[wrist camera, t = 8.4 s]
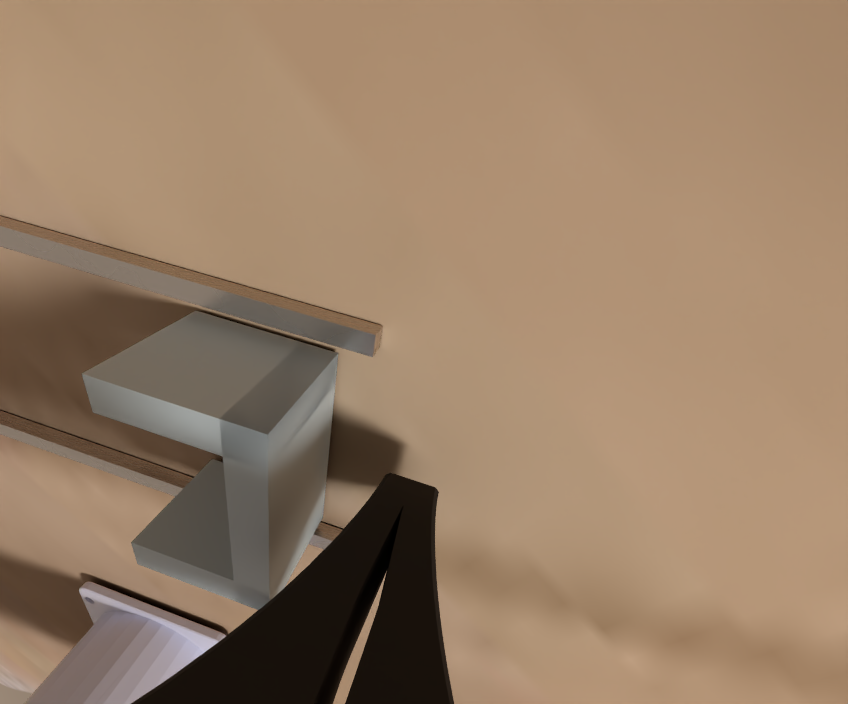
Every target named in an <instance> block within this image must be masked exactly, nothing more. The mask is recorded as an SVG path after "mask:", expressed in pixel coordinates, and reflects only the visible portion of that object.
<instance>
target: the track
mask: <svg viewBox="0 0 848 704" xmlns="http://www.w3.org/2000/svg"><path fill="white" fill-rule="evenodd" d="M0 247H4V248H7V249H10V250H14V251H17V252H21V253H24V254H27V255H31V256H34V257H37V258H41V259H44V260H47V261H51V262H54V263H58V264H61V265H64V266H68V267H71V268H74V269H78V270H81V271H84V272H88V273H91V274H95V275H98V276H101V277H105V278H108V279H111V280H115V281H118V282H122V283H125V284H128V285H132V286H135V287H138V288H142V289H145V290H148V291H152V292H155V293H159V294H162V295H165V296H169V297H172V298H175V299H179V300H182V301H186V302H189V303H192V304H196V305H199V306H202V307H206V308H209V309H212V310H216V311H219V312H223V313H226V314H229V315H233V316H236V317H239V318H243V319H246V320H250V321H253V322H256V323H260V324H263V325H266V326H270V327H273V328H276V329H280V330H283V331H287V332H290V333H293V334H297V335H300V336H303V337H307V338H310V339H314V340H317V341H320V342H324V343H327V344H330V345H334V346H337V347H340V348H344V349H347V350H351V351H354V352H357V353H361V354H364V355H367V356H371V357H373V356H374V354H375V353H376V352H377V350H378V349H379V347H380V341H381V334H382V328H383V326H381V325H378V324H374V323H371V322H367V321H364V320H361V319H357V318H354V317H350V316H347V315H343V314H340V313H336V312H333V311H329V310H326V309H322V308H319V307H315V306H312V305H308V304H305V303H301V302H298V301H294V300H291V299H287V298H284V297H280V296H277V295H274V294H270V293H267V292H263V291H260V290H256V289H253V288H249V287H246V286H242V285H239V284H235V283H232V282H228V281H225V280H221V279H218V278H214V277H211V276H207V275H204V274H200V273H197V272H194V271H190V270H187V269H183V268H180V267H176V266H173V265H169V264H166V263H162V262H159V261H155V260H152V259H148V258H145V257H141V256H138V255H134V254H131V253H127V252H124V251H120V250H117V249H113V248H110V247H107V246H103V245H100V244H96V243H93V242H89V241H86V240H82V239H79V238H75V237H72V236H68V235H65V234H61V233H58V232H54V231H51V230H47V229H44V228H40V227H37V226H33V225H30V224H27V223H23V222H20V221H16V220H13V219H9V218H6V217H2V216H0ZM0 434H1V435H4V436H7V437H9V438H12V439H15V440H18V441H21V442H23V443H26V444H29V445H32V446H35V447H38V448H40V449H43V450H46V451H49V452H52V453H54V454H57V455H60V456H63V457H66V458H69V459H71V460H74V461H77V462H80V463H83V464H85V465H88V466H91V467H94V468H97V469H99V470H102V471H105V472H108V473H111V474H114V475H116V476H119V477H122V478H125V479H128V480H130V481H133V482H136V483H139V484H142V485H144V486H147V487H150V488H153V489H156V490H159V491H161V492H164V493H167V494H170V495H173V496H175V497H176V496H177V495H178V494H179V492H180V491H181V490H182V489H183V488H184V487H185V486H186V485H187V484H188V483H189V482H190V481H191V480H192V479H193V477H190V476H187V475H184V474H181V473H178V472H175V471H172V470H170V469H167V468H164V467H161V466H158V465H155V464H152V463H149V462H147V461H144V460H141V459H138V458H135V457H132V456H129V455H126V454H124V453H121V452H118V451H115V450H112V449H109V448H106V447H104V446H101V445H98V444H95V443H92V442H89V441H86V440H83V439H81V438H78V437H75V436H72V435H69V434H66V433H63V432H60V431H58V430H55V429H52V428H49V427H46V426H43V425H40V424H37V423H35V422H32V421H29V420H26V419H23V418H20V417H17V416H14V415H12V414H9V413H6V412H3V411H0ZM341 531H342V529H339V528H336V527H333V526H330V525H328V524H325V523H322V522H320V523H319V525H318V527H317V529H316V531H315V532H314V534H313V536H312V538H311V540H310V542H309V543H308V544H310V545H313V546H316V547H319V548H322V549H325V548H326V547H327V546H328V545H329V544H330V543H331V542H332V541H333V540H334V539H335V538H336V537H337V536H338V535H339V534H340V533H341Z"/></svg>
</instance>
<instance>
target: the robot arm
mask: <svg viewBox="0 0 848 704" xmlns="http://www.w3.org/2000/svg"><path fill="white" fill-rule="evenodd" d="M438 493H439V492H438V490H437V489H436V488H435V487H432V486H429V485H426V484H423V483H420V482H417V481H414V480H411V479H408V478H405V477H402V476H399V475H396V474H393V473H389V474H386V475H385V477H384V478H383V480H382V481H381V483H380V484H379V486H378V487H377V489H376V490H375V492H374V493H373V494H372V496H371V497H370V498H369V500H368V501H367V502H366V503H365V505H364V506H363V507H362V508H361V510H360V511H359V512H358V513H357V514H356V516H355V517H354V518H353V519H352V520H351V521H350V522H349V523H348V525H347V526H346V527H345V528H344V529H343V530H342V531H341V533H340V534H339V535H338V536H337V537H336V538H335V539H334V540H333V541H332V542H331V543H330V544H329V545H328V546H327V547H326V548H325V549H324V550H323V551H322V552H321V553H320V554H319V555H318V556H317V557H316V558H315V559H314V560H313V561H312V563H311V564H310V565H309V566H307V567H306V568H305V569H304V570H303V571H302V572H301V573H300V574H299V575H298V576H297V577H296V578H295V579H294V580H293V581H292V582H290V583H289V584H288V585H287V586H286V587H285V588H284V589H283V590H281V591H280V592H279V593H278V594H277V595H276V596H275V597H274V598H272V599H271V600H270V601H269V602H268V603H267V604H265V605H264V606H263V607H262V608H260V609H259V610H258V611H257V612H256V613H254V614H253V615H252V616H251V617H250V618H248V619H247V620H246V621H245V622H244V623H242V624H241V625H240V626H239V627H237V628H236V629H235V630H233V631H232V632H231V633H230V634H228V635H227V636H226V635H225V634H223V633H221V632H219V631H216V630H214V629H211V628H208V627H206V626H203V625H201V624H198V623H196V622H193V621H191V620H188V619H185V618H183V617H180V616H178V615H175V614H173V613H170V612H167V611H165V610H162V609H160V608H157V607H155V606H152V605H150V604H147V603H144V602H142V601H139V600H137V599H134V598H132V597H129V596H127V595H124V594H121V593H119V592H116V591H114V590H111V589H109V588H106V587H103V586H101V585H98V584H96V583H93V582H90V581H89V582H85V583H84V584H83V585H82V586H81V587H80V588H79V592H80V594H81V597H82V599H83V601H84V603H85V606H86V608H87V610H88V612H89V615H90V617H91V619H92V621H93V623H94V625H93V626H92V627H91V628H90V629H89V631H88V632H87V633H86V634H85V635H84V636H83V637H82V638H81V640H80V641H79V642H78V643H77V644H76V645H75V646H74V647H73V649H72V650H71V651H70V652H69V653H68V654H67V655H66V657H65V658H64V659H63V660H62V661H61V662H60V663H59V664H58V666H57V667H56V668H55V669H54V670H53V671H52V672H51V673H50V675H49V676H48V677H47V678H46V679H45V680H44V681H43V683H42V684H41V685H40V686H39V687H38V688H37V689H36V690H35V692H34V693H33V694H32V695H31V696H30V697H29V699H28V700H27V701H26V702H25V703H24V704H333V701H334V698H335V695H336V693H337V690H338V687H339V684H340V681H341V678H342V676H343V673H344V670H345V668H346V665H347V663H348V660H349V658H350V655H351V653H352V651H353V648H354V646H355V644H356V641H357V639H358V637H359V634H360V632H361V630H362V627H363V625H364V623H365V620H366V618H367V616H368V613H369V611H370V609H371V606H372V604H373V602H374V599H375V597H376V595H377V592H378V590H379V587H380V585H381V583H382V580H383V578H384V576H385V573H386V571H387V573H386V577H385V581H384V585H383V590H382V594H381V598H380V602H379V606H378V610H377V612H376V615H375V618H374V621H373V624H372V627H371V630H370V633H369V636H368V639H367V642H366V645H365V648H364V651H363V654H362V657H361V659H360V662H359V665H358V668H357V671H356V674H355V677H354V680H353V683H352V686H351V689H350V691H349V694H348V697H347V700H346V703H345V704H454V701H453V696H452V690H451V685H450V679H449V674H448V668H447V662H446V656H445V649H444V643H443V636H442V628H441V620H440V611H439V602H438V592H437V579H436V560H435V517H436V506H437V498H438Z"/></svg>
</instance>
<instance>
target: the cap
mask: <svg viewBox="0 0 848 704" xmlns="http://www.w3.org/2000/svg"><path fill="white" fill-rule="evenodd" d="M337 362H338V353H336V352H333V351H330V350H326V349H323V348H319V347H316V346H313V345H309V344H306V343H303V342H299V341H296V340H293V339H289V338H286V337H283V336H279V335H276V334H273V333H269V332H266V331H263V330H259V329H256V328H253V327H249V326H246V325H242V324H239V323H236V322H232V321H229V320H226V319H222V318H219V317H216V316H212V315H209V314H206V313H202V312H199V311H194V312H192V313H190V314H189V315H187V316H185V317H183V318H181V319H180V320H178V321H176V322H174V323H172V324H171V325H169V326H167V327H165V328H163V329H161V330H160V331H158V332H156V333H154V334H152V335H151V336H149V337H147V338H145V339H143V340H142V341H140V342H138V343H136V344H134V345H132V346H131V347H129V348H127V349H125V350H123V351H122V352H120V353H118V354H116V355H114V356H112V357H111V358H109V359H107V360H105V361H103V362H102V363H100V364H98V365H96V366H94V367H93V368H91V369H89V370H87V371H85V372H83V373H82V377H83V381H84V384H85V388H86V391H87V394H88V398H89V401H90V404H91V408H92V411H93V413H96V414H99V415H102V416H105V417H108V418H111V419H114V420H116V421H119V422H122V423H125V424H128V425H131V426H134V427H137V428H140V429H143V430H146V431H149V432H152V433H155V434H158V435H161V436H164V437H167V438H170V439H173V440H175V441H178V442H181V443H184V444H187V445H190V446H193V447H196V448H199V449H202V450H205V451H208V452H211V453H214V454H217V455H220V456H223V462H220V461H217V460H214V459H211V460H210V462H209V463H208V464H207V465H206V466H205V467H204V468H203V469H202V470H201V471H200V472H199V473H198V474H197V475H196V476H195V477H194V478H193V479H192V480H191V481H190V482H189V483H188V484H187V485H186V486H185V487H184V488H183V489H182V490H181V491H180V492H179V494H178V495H177V496H176V497H175V498H174V499H173V500H172V501H171V502H170V503H169V504H168V505H167V506H166V507H165V508H164V509H163V510H162V511H161V512H160V513H159V514H158V515H157V516H156V517H155V518H154V519H153V520H152V521H151V522H150V523H149V524H148V526H147V527H146V528H145V529H144V530H143V531H142V532H141V533H140V534H139V535H138V536H137V537H136V538H135V539H134V540H133V541H132V542H131V543H132V547H133V550H134V553H135V557H136V560H137V564H139V565H141V566H144V567H147V568H149V569H152V570H155V571H157V572H160V573H162V574H165V575H168V576H170V577H173V578H176V579H178V580H181V581H183V582H186V583H189V584H191V585H194V586H197V587H199V588H202V589H205V590H207V591H210V592H212V593H215V594H218V595H220V596H223V597H226V598H228V599H231V600H234V601H236V602H239V603H241V604H244V605H247V606H249V607H252V608H255V609H257V610H259V609H260V608H262V607H263V606H264V605H265V604H267V603H268V602H269V601H270V600H271V599H272V598H274V597H275V596H276V595H277V594H278V593H279V592H280V591H281V590H283V589H284V587H285V586H286V584H287V582H288V580H289V578H290V576H291V575H292V573H293V571H294V569H295V567H296V565H297V564H298V562H299V560H300V558H301V556H302V554H303V553H304V551H305V549H306V547H307V545H308V543H309V542H310V540H311V538H312V536H313V534H314V532H315V531H316V529H317V527H318V525H319V523H320V521H321V520H322V518H323V511H324V500H325V489H326V479H327V468H328V458H329V447H330V436H331V426H332V415H333V405H334V394H335V383H336V373H337Z"/></svg>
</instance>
